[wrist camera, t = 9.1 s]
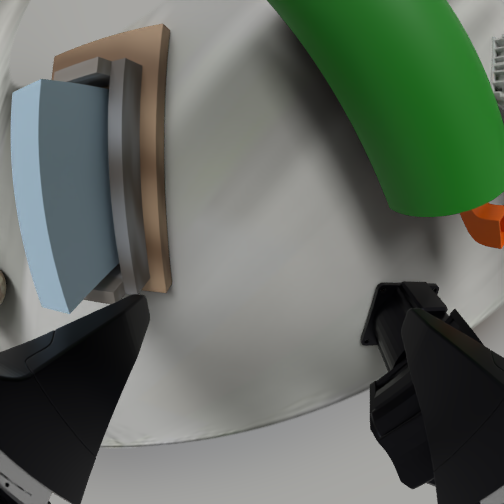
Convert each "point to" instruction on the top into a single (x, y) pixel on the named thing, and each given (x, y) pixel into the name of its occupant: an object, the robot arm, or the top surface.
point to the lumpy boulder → (2, 287)
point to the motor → (412, 103)
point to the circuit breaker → (498, 70)
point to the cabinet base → (130, 151)
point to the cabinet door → (63, 188)
